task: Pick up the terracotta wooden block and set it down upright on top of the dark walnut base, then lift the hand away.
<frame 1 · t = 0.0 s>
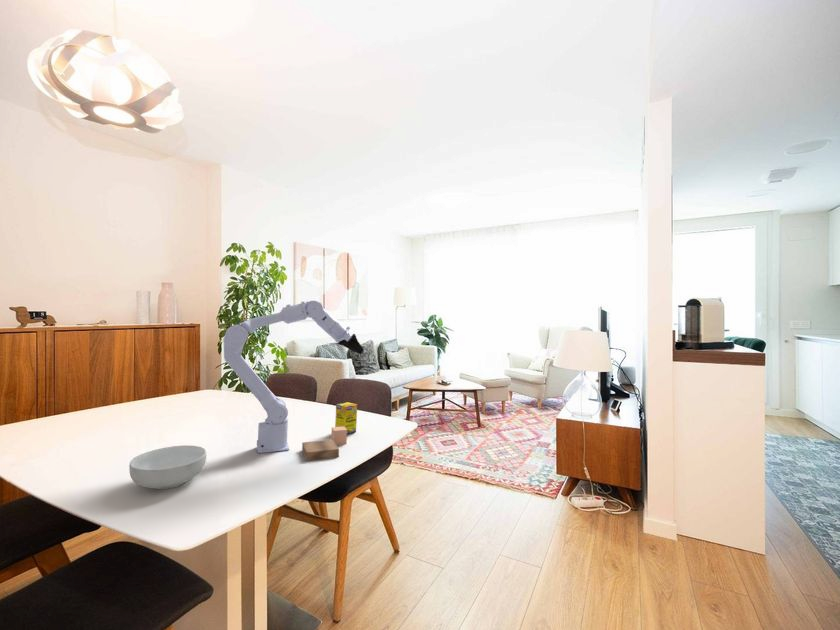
hand: (359, 351, 138), 32 cm above the table, tool tilted 50°, fingers open, 7 cm apart
walnut base: (320, 453, 122), on the table
cereal bowl: (168, 483, 98), on the table
terracotta block: (338, 442, 134), on the table
supplement box: (345, 432, 146), on the table
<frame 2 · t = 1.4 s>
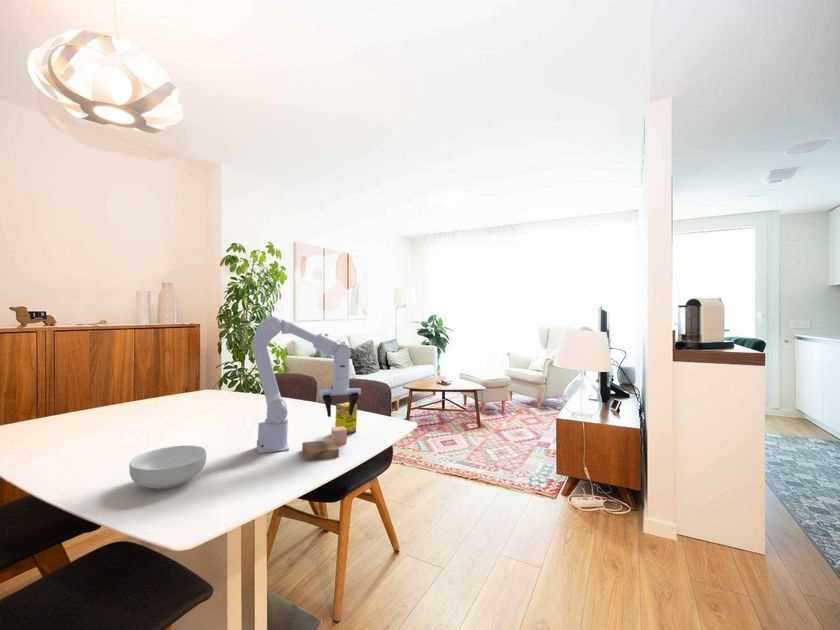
hand: (339, 415, 134), 10 cm above the table, tool pointing down, fingers open, 7 cm apart
nothing on the table moved.
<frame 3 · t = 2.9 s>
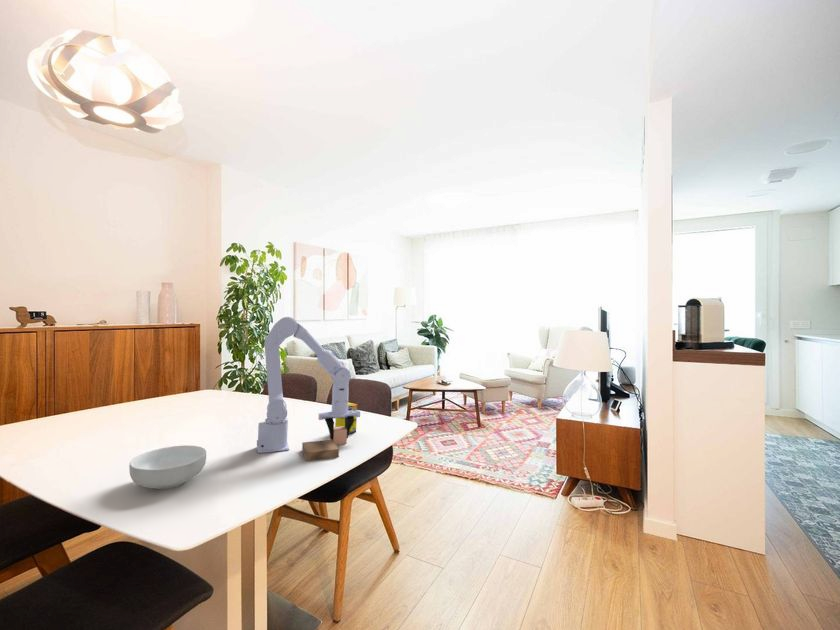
hand: (338, 438, 134), 1 cm above the table, tool pointing down, fingers closed on terracotta block, 4 cm apart
terracotta block: (338, 442, 134), on the table, touching gripper
everything else where it was.
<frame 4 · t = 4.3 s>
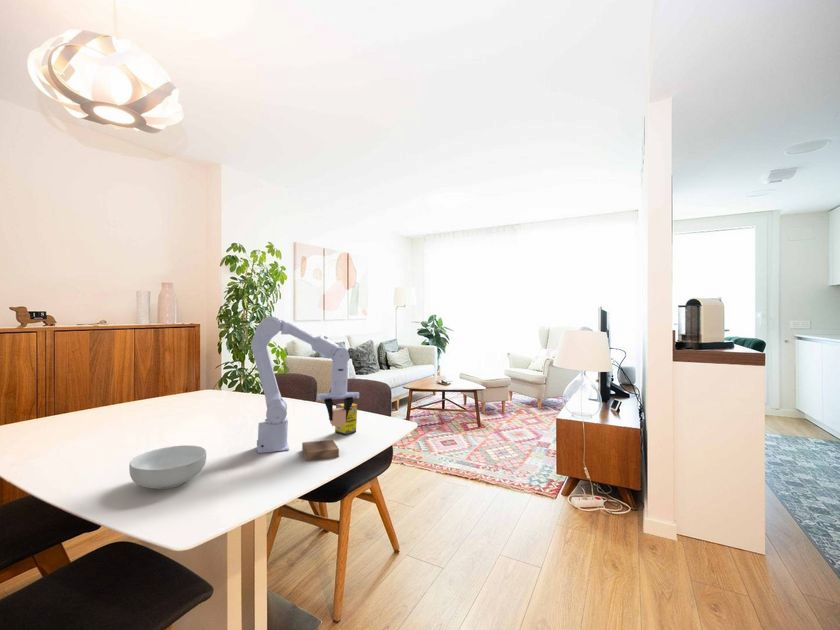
hand: (337, 419, 133), 8 cm above the table, tool pointing down, fingers closed on terracotta block, 4 cm apart
terracotta block: (337, 423, 133), point 7 cm above the table, touching gripper
everything else where it was.
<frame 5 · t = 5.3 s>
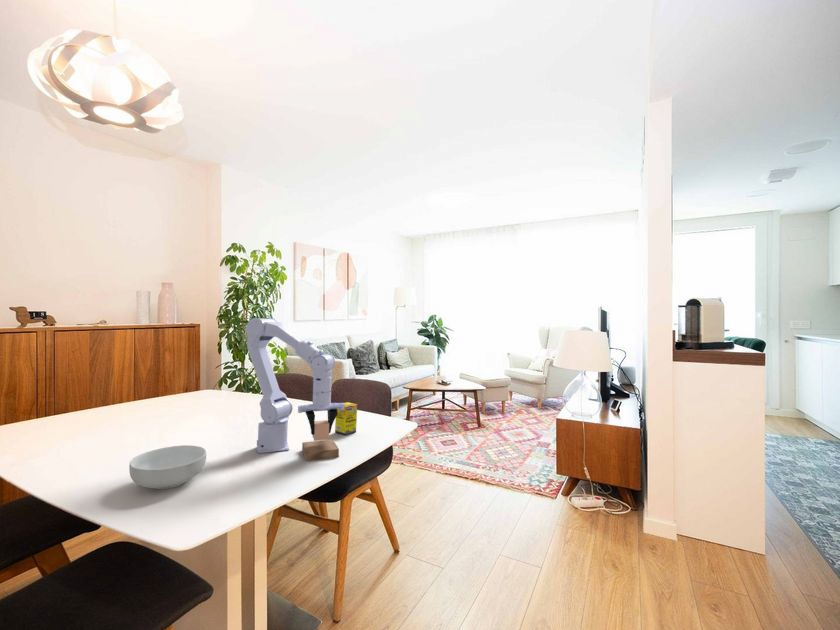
hand: (320, 433, 122), 7 cm above the table, tool pointing down, fingers closed on terracotta block, 4 cm apart
terracotta block: (320, 437, 122), point 5 cm above the table, touching gripper
everything else where it was.
when the fingers open (5 cm above the table, at t = 5.9 s): terracotta block drops 1 cm, resting on walnut base.
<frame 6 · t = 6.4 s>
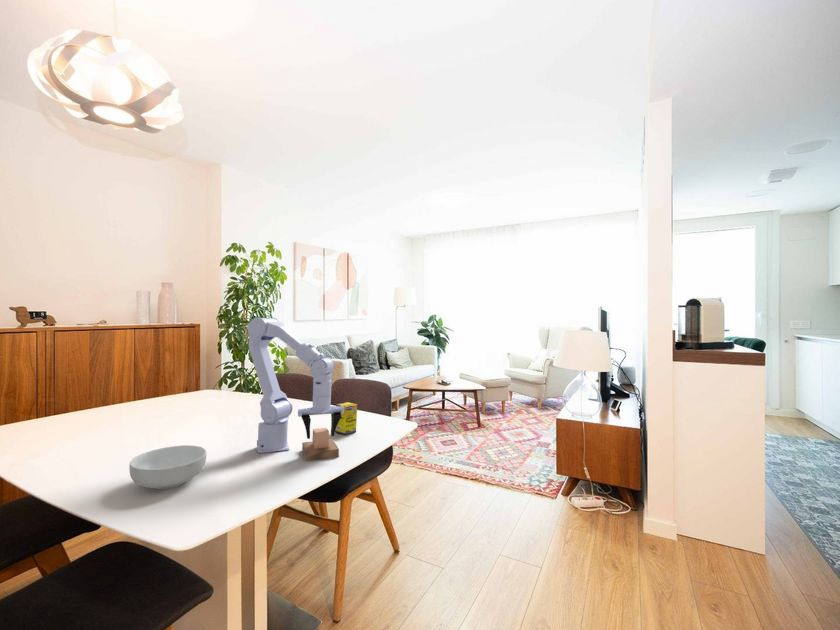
hand: (320, 436, 122), 5 cm above the table, tool pointing down, fingers open, 7 cm apart
terracotta block: (320, 445, 122), point 2 cm above the table, touching walnut base
everything else where it was.
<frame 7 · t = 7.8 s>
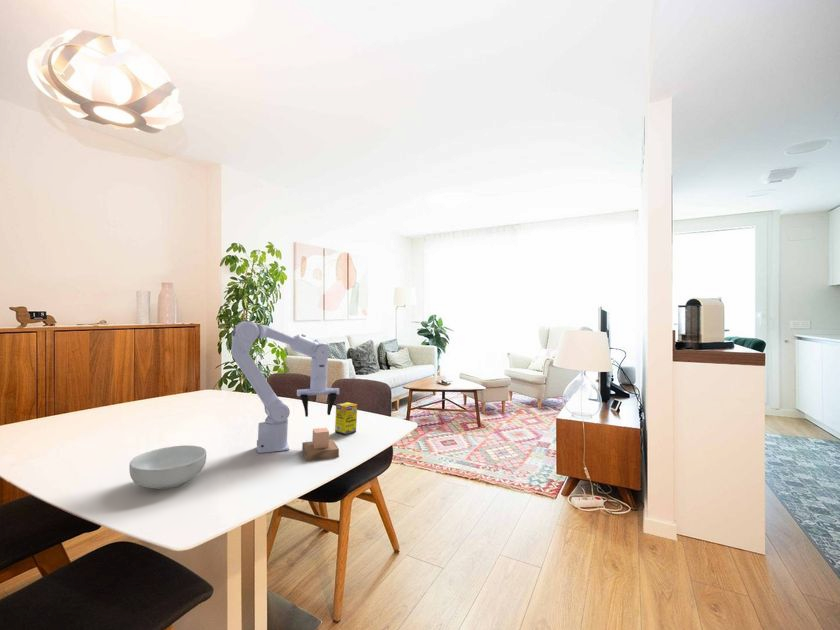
hand: (317, 415, 134), 9 cm above the table, tool pointing down, fingers open, 7 cm apart
nothing on the table moved.
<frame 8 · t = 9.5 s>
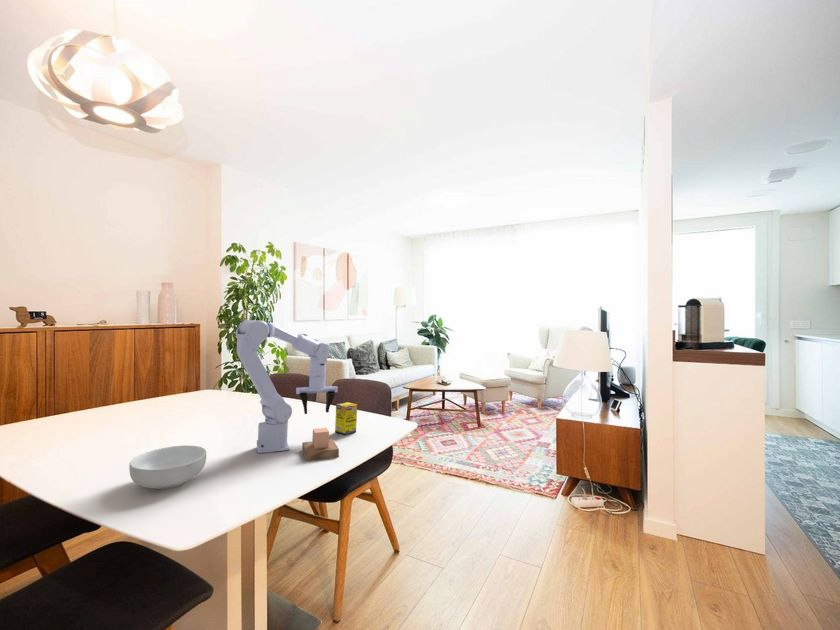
hand: (316, 412, 137), 9 cm above the table, tool pointing down, fingers open, 7 cm apart
nothing on the table moved.
at the end: terracotta block 0.0 cm off-centre on the walnut base, point 2.5 cm above the walnut base's base; terracotta block tilted 0°; the gripper is holding nothing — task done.
